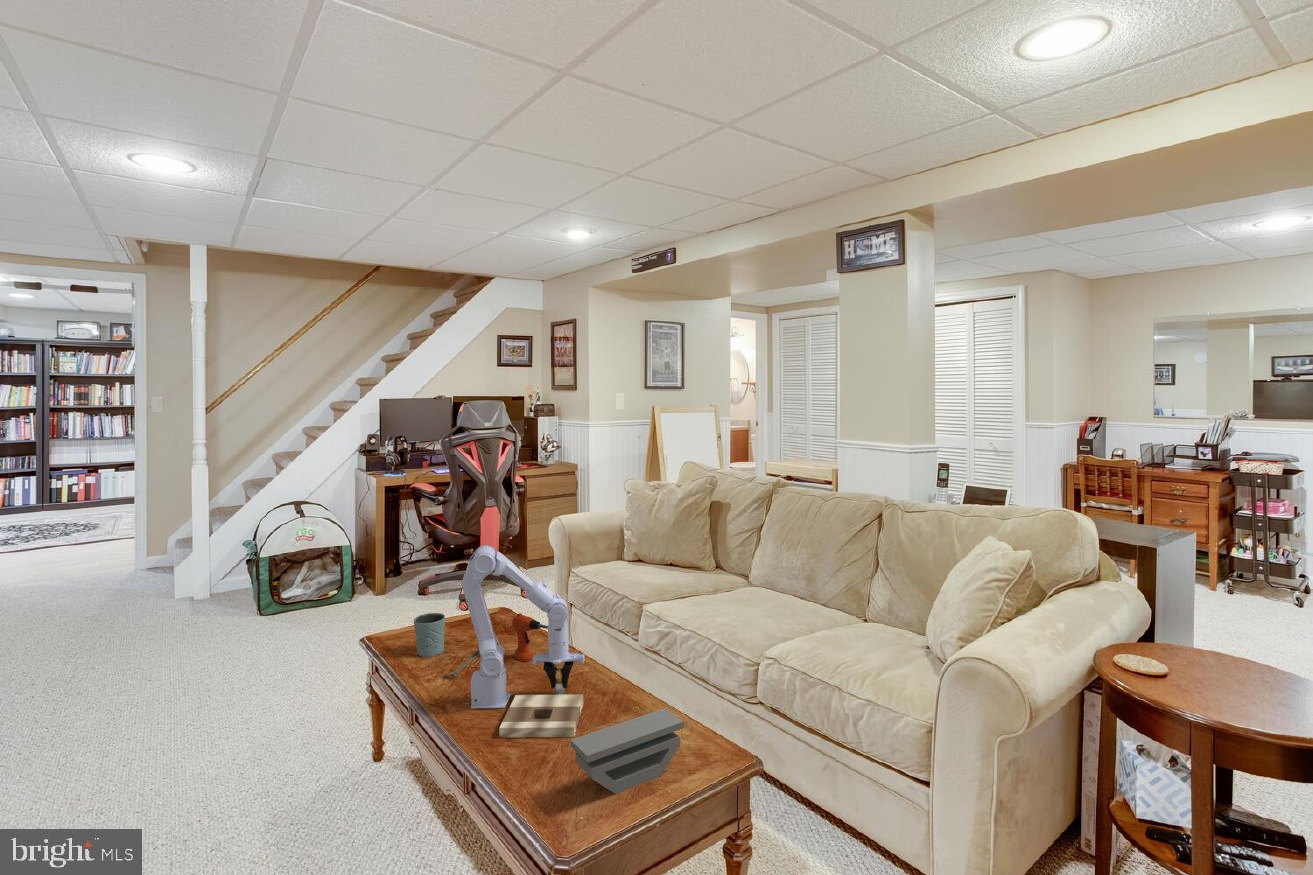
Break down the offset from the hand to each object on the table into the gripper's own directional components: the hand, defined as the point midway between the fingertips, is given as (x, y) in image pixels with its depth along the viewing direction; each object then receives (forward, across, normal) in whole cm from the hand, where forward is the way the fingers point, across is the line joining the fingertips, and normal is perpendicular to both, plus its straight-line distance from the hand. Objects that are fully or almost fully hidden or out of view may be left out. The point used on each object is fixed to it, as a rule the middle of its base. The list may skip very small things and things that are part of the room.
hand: (559, 686), depth 190 cm
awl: (+2, 0, 0) cm, 2 cm away
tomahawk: (+3, -33, +21) cm, 39 cm away
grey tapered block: (+3, +22, -40) cm, 46 cm away
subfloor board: (+2, -2, -14) cm, 14 cm away
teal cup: (+3, -49, +32) cm, 59 cm away
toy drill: (+3, -13, +24) cm, 27 cm away
